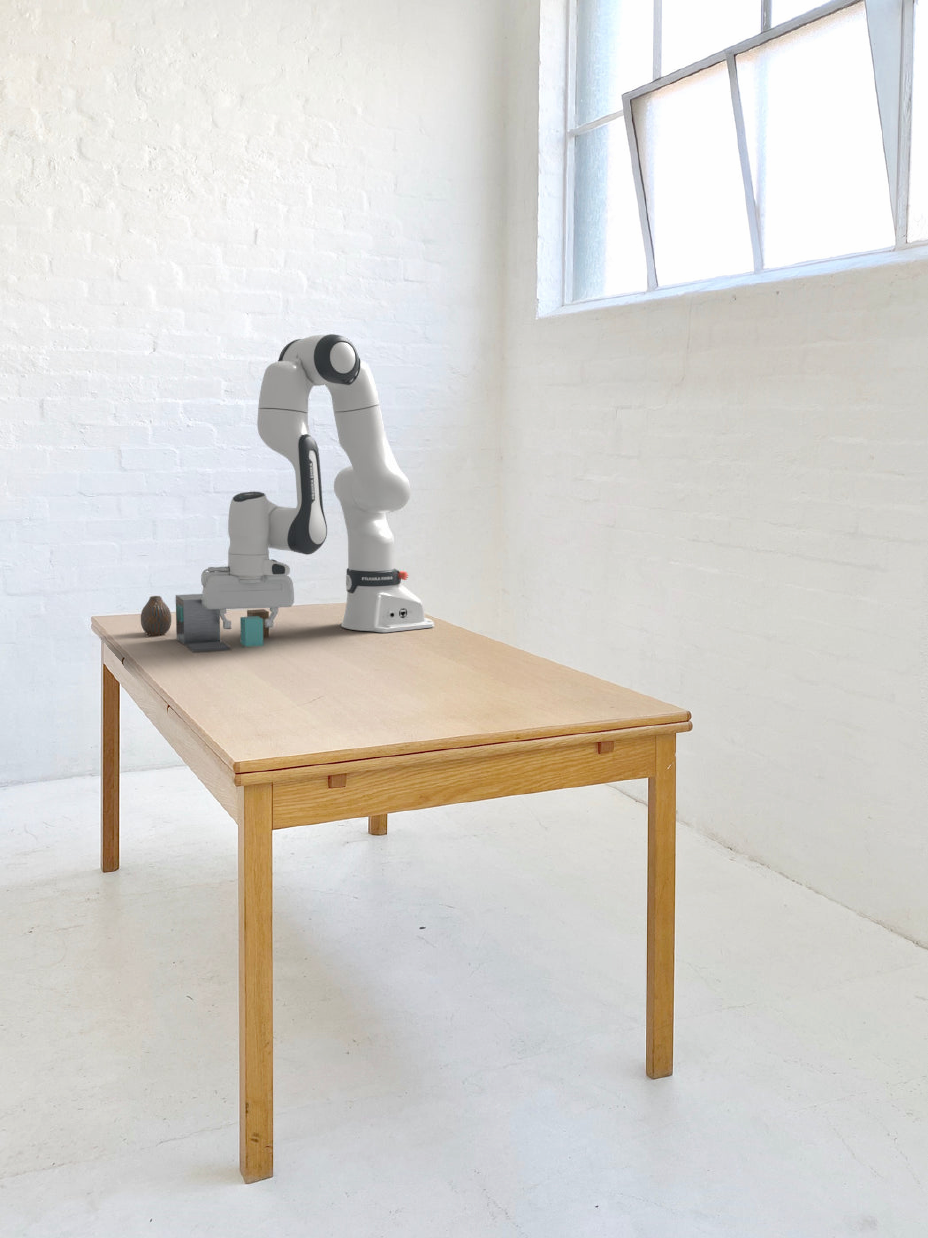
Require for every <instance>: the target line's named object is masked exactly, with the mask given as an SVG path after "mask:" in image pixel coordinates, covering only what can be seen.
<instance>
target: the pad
mask: <svg viewBox="0 0 928 1238" xmlns="http://www.w3.org/2000/svg"><path fill="white" fill-rule="evenodd" d="M186 647H187V648H188V649H189V650H190V651H191V652H192V653H205V652H219V651H231V650H232V649H231V648H232V647H231V646H230V645H228V644H227V643H226V642H224V641H223V640H222V641H220V642H207V643H192V644H186Z"/></svg>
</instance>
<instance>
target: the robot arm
mask: <svg viewBox="0 0 928 1238" xmlns="http://www.w3.org/2000/svg"><path fill="white" fill-rule="evenodd" d="M358 353H359V352H357V349H356V346H355V345H354V344H353V342H352V341H351V340H350V339H349V338H347V337H345V336H343V335H339V334H335V333H334V334H333V333H332V334H331V333H330V334H315V335H311V336H309V337H305V338H299V339H294V340H292V341H290V342H288V343H287V344H286V345H285V346H284V347H283V349H282V350H281V352H280V354H279V356H278V360H277V361H275V362H272V363H270V364H269V365H268V366H267V367H266V369H265V371H264V374H263V377H262V382H261V387H260V391H259V397H258V398H259V399H258V407H257V408H258V410H257V418H256V421H257V422H256V423H257V431H258V435H259V437H260V439H261V440H262V442H263V443H264V444H265V445H266V446H267V447H268V448H270V449H271V450H272V451H274V452H276V453H278V454H279V455H281V456H283V457H284V458H286V459H287V460H288V461H289V462H290V463H291V465H292V467H293V469H294V473H295V486H296V501H297V502H296V507H286V506H285V507H284V506H279V505H277V504H275V503H274V502H272V501H270V500H269V499H268V498H267V496H266V494H265V493H264V492H262V491H248V492H247V491H246V492H240V493H238V494H236V495H234V496H233V497H232V498H231V501H230V503H229V509H228V521H227V522H228V523H227V524H228V525H227V527H228V528H227V534H228V538H229V546H228V550H227V561H228V562H227V563H228V564H227V566H217V567H216V566H208V568H206V569H204V570H203V571H202V573H201V576H200V577H201V578H200V579H201V581H200V582H201V585H202V590H201V591H202V592H201V594H202V605H203V606H204V607H205V608H206V609H208V610H213V609H218V614H219V616H220V619H221V620H222V628H223V630H231V629H232V621H231V620H229V619H228V618H226V615H227V610H237V609H240V610H241V609H261V608H262V609H266V608H267V609H268V608H269V611H270V612H271V613H269V618H268V619H265V627H266V628H269V629H270V628H271V629H272V628H273V627H274V620H275V619H276V617H277V615H278V614H279V608H290V607H292V606H293V604H294V603H295V591H294V590H295V588H294V582H293V580H292V578H291V577H290V576H289V575H290V573H291V567H290V566H289V565H288V564H286V563H283V562H280V561H277V560H275V559H270V558H269V557H270V552H269V549H273V550H278V551H280V550H281V551H289V552H293V553H298V554H302V555H306V556H307V555H313V554H314V553H316V552H317V551H319V549H321V547H322V546H323V544H324V543H325V541H326V539H327V535H328V526H327V525H328V524H327V519H326V515H325V512H324V505H323V504H324V503H323V490H322V488H323V486H322V476H321V475H322V473H321V463H320V453H319V447H318V444H317V441H316V440H315V438H314V437H313V436H312V435H311V431H310V428H309V420H308V417H309V415H308V414H309V397H310V393H311V391H312V389H313V387H314V386H316V387H317V386H318V387H320V386H325V387H326V388H327V390H328V391H329V393H330V396H331V404H332V409H333V416H334V420H335V421H334V422H335V426H336V431H337V432H336V433H337V437H338V442H339V444H340V447H341V448H342V450H343V451H344V452H345V454H346V455H347V457H348V459H349V462H350V463H351V465H350V466H347V467H345V468H343V469H342V470H341V469H340V471H339V472H338V473H337V474H336V476H335V478H334V482H333V490H334V493H335V496H336V497H337V498H336V499H338V501H339V503H340V506H341V509H342V514H343V520H344V523H345V527H346V534H347V562H348V563H347V564H348V568H346V575H345V588H346V593H347V595H346V604H345V609H344V614H343V617H342V618H343V619H342V621H341V625H340V626H341V627H342V628H344V629H348V630H354V631H363V632H365V631H366V632H375V633H393V632H400V631H401V632H402V631H409V630H419V629H427V628H428V629H429V628H434V627H435V623H434V621H433V620H432V619H430V618H427V617H426V614H425V607H424V604H423V602H422V600H421V598H419V597H418V596H417V595H416V594H414V593H413V592H412V591H410V590H409V589H408V588H407V587H406V586H404V585H403V584H402V583H401V582H402V580H403V581H406V580H408V578H409V573H408V572H407V571H404V570H398V569H396V568H395V538H394V533H393V532H392V530H391V528H390V527H389V524H388V521H387V516H386V514H387V513H393V512H396V511H399V510H401V509H403V508H404V507H405V506H406V505H407V504H408V502H409V500H410V497H411V492H412V489H411V484H410V481H409V478H408V477H407V476H406V475H405V474H404V472H403V471H402V470H401V468H400V466H399V465H398V463H397V460H396V458H395V456H394V455H395V454H394V453H393V451H392V447H391V446H390V443H389V441H388V438H387V434H386V433H387V432H386V429H385V424H384V419H383V414H382V408H381V402H380V398H379V393H378V389H377V385H376V383H375V379H374V376H373V374H372V372H371V371H372V370H371V368H370V367H369V365H368V364H367V363H366V362H365V361H363V360H361V359H360V356H359V354H358Z"/></svg>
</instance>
